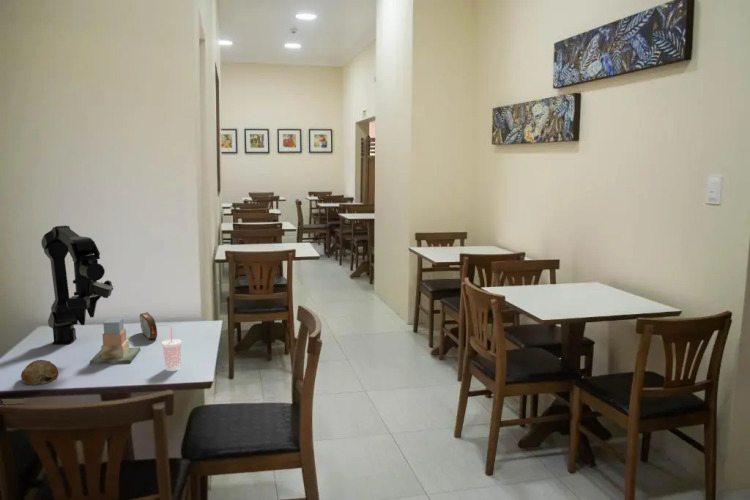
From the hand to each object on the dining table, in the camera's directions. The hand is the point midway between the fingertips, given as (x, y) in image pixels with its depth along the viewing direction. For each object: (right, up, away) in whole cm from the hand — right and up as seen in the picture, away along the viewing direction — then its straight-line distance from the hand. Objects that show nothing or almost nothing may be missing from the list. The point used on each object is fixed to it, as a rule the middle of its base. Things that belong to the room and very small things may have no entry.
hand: (87, 321), depth 208 cm
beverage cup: (+31, -15, -7) cm, 35 cm away
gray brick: (+8, -4, +2) cm, 9 cm away
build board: (+8, -13, +3) cm, 15 cm away
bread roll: (-7, -16, -17) cm, 25 cm away
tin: (+11, -9, +26) cm, 30 cm away
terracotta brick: (+8, -8, +2) cm, 12 cm away
